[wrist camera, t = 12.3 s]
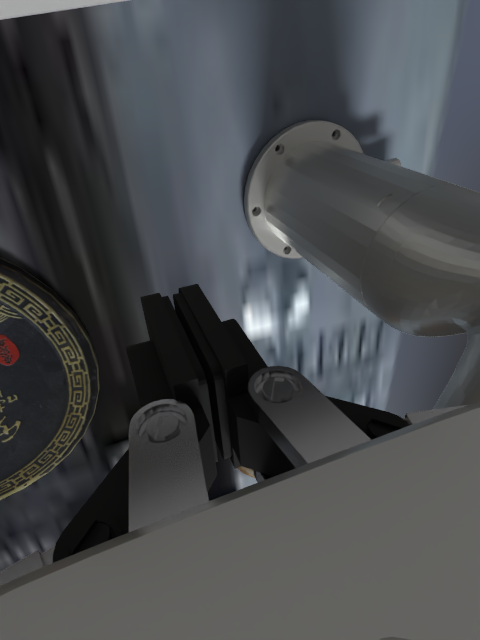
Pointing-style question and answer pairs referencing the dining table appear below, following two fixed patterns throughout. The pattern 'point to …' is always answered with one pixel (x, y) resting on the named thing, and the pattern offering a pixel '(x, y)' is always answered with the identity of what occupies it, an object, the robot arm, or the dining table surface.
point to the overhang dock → (43, 6)
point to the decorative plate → (40, 379)
